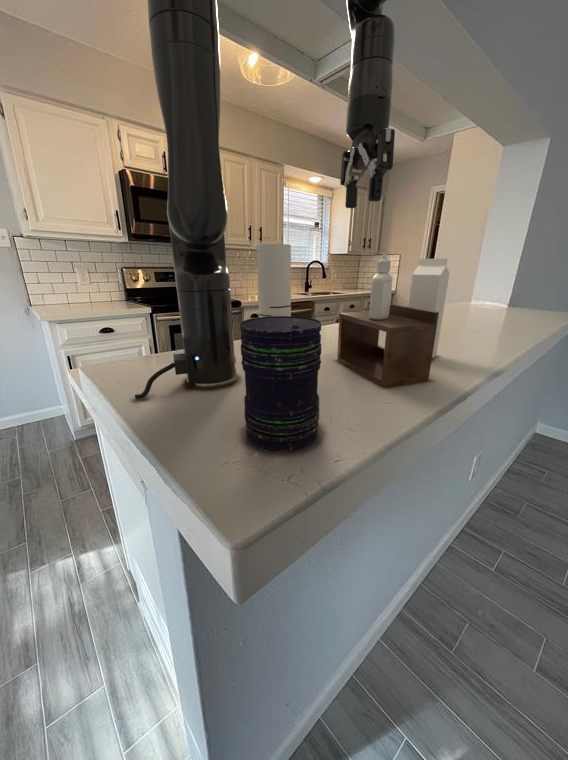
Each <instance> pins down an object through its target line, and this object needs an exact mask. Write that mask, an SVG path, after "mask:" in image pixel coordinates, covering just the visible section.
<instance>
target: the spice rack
mask: <svg viewBox="0 0 568 760" xmlns="http://www.w3.org/2000/svg"><path fill="white" fill-rule="evenodd" d="M369 311H370V310H366V311H349V312H339V315H338V316H339V318H338V335H337V336H338V338H337V354H336V355H337V356H336V357H337V358H336V359H337V360H336V362H338V363H340V364H342V365H344V366H345V367H348V368H349V369H351V370H352V371H355V372H356V373H358V374H360V375H361V376H362V377H363V376H364V377H365V378H367V379H369V380H370V381H372V382H374V383H376V384H377V385H380V386H381V387H383V388H391V387H397V386H403V385H408V384H415V383H423V382H427V381H429V380H430V379H429V378H430V374H431V368H432V360H433V358H432V355H433V348H434V342H435V335H436V329H437V322H438V316H439V312H434V311H428V310H423V309H417V308H412V307H408V306H405V305H401V304H394V303H390V311H389V317H388V318H387V319H383V320H373V319H370V318H369ZM380 331H382V332H384V333H385V340H384V342H385V343H384V347H383V346H380V345H379V339H380Z"/></svg>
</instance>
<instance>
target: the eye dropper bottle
mask: <svg viewBox="0 0 568 760" xmlns="http://www.w3.org/2000/svg"><path fill="white" fill-rule="evenodd" d="M391 263H392V262H391V260H389V259H388V253H386V252H385V253H384V252H383V253H382V255H381V259H379V260H377V262H376V274H374V276H373V277H372V280H371V288H370V301H369V310H368V311H369V318H370V319H373V320H383V319H387V318H388V317H389V311H390V304H391V299H392V290H393V276H392V274H391V273H390V272H391V265H392V264H391Z"/></svg>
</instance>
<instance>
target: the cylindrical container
mask: <svg viewBox="0 0 568 760" xmlns="http://www.w3.org/2000/svg"><path fill="white" fill-rule="evenodd" d="M256 267H257V269H256V270H257V298H258V318H260V317H272V316H292V315H291V314H292V245H291V244H288V243H270V244H269V243H264V244H256Z"/></svg>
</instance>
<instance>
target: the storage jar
mask: <svg viewBox="0 0 568 760" xmlns="http://www.w3.org/2000/svg"><path fill="white" fill-rule="evenodd" d="M239 325H240V326H239V327H240V329H239V330H240V332H241V335H240V342H241V344H240V355H241V365H242V370H243V371H244V383H245V395H244V400H243V401H244V402H243V403H244V408H243V409H244V413H243V414H244V415H243V416H244V422H245V428H246V431H245V432H246V439H247V441H248V442H249V443H250V445H251V446H253V447H254V448H256V449H259V450H261V451H264V452H267V453H268V452H269V453H275V454H288V453H294V452H295V453H296V452H299V451H302V450H304V449H307V448H309V447H310V446H312V445H314V443H316V441H317V439H318V438H319V437H318V436H319V429H318V427H319V420H320V396H319V393H318V384H319V382H318V380H319V379H318V378H319V371H320V369H321V365H322V360H321V356H322V343H321V342H322V335H321V331H322V322H321V320H319V319H315V318H311V317H304V316H293V315H291V316H272V317H260V318H259V317H253V318H248V319H245V320H243V321H241V322H240V323H239Z"/></svg>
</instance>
